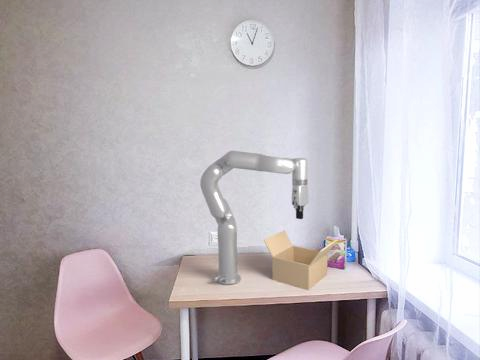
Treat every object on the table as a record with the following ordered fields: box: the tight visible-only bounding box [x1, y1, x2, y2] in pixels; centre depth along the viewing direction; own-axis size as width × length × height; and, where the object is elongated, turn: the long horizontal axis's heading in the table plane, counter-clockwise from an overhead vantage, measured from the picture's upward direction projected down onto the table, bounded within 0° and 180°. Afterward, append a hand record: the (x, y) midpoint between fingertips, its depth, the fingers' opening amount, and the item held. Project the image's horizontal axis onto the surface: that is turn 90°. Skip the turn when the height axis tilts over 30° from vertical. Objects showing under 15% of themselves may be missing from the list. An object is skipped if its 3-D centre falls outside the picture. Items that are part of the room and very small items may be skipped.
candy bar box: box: [324, 235, 348, 270], centre depth 173 cm, size 11×5×16 cm, turn 59°
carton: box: [271, 245, 328, 291], centre depth 160 cm, size 22×20×12 cm
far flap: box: [263, 230, 294, 257], centre depth 167 cm, size 21×10×1 cm
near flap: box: [310, 240, 338, 266], centre depth 151 cm, size 21×10×1 cm
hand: (299, 218), depth 158 cm, fingers closed
